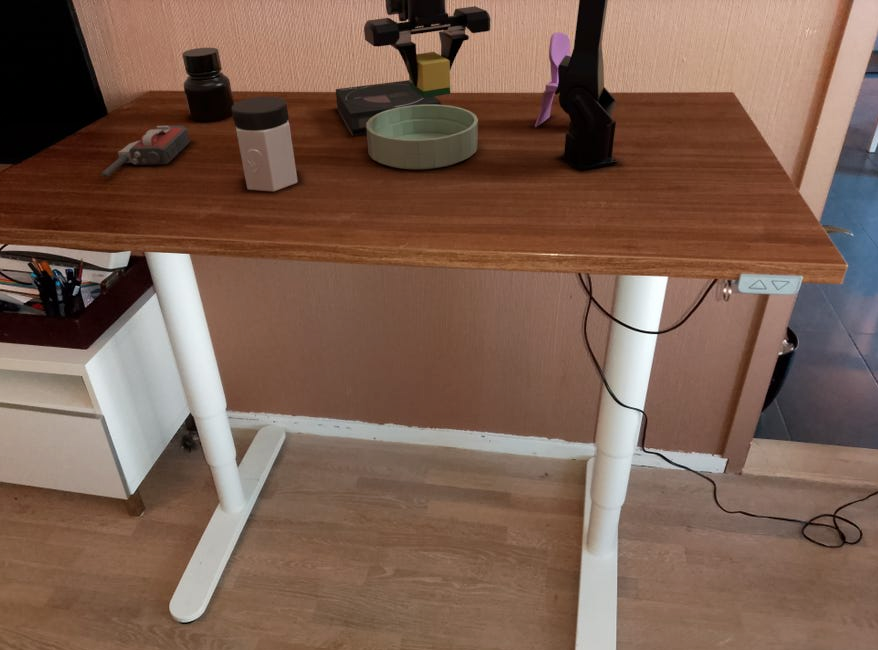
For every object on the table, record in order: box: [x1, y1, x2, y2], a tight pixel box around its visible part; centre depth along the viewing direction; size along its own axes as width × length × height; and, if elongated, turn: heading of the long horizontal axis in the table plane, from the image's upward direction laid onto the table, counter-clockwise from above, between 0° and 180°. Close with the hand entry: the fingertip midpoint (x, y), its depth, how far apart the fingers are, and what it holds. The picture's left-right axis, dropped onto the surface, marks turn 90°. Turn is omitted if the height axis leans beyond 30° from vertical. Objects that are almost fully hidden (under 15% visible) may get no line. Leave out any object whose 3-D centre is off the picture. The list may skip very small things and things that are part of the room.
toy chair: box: [534, 31, 571, 128], centre depth 123 cm, size 8×9×15 cm
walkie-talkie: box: [101, 125, 191, 178], centre depth 123 cm, size 9×4×20 cm
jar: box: [232, 96, 298, 193], centre depth 110 cm, size 9×8×12 cm
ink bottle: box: [181, 47, 235, 122], centre depth 140 cm, size 10×9×12 cm
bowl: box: [366, 104, 479, 170], centre depth 119 cm, size 18×18×5 cm
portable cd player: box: [335, 79, 442, 137], centre depth 135 cm, size 16×17×4 cm
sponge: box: [408, 51, 451, 98], centre depth 114 cm, size 4×7×5 cm, turn 18°
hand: (429, 84), depth 115 cm, fingers closed on sponge, 4 cm apart
